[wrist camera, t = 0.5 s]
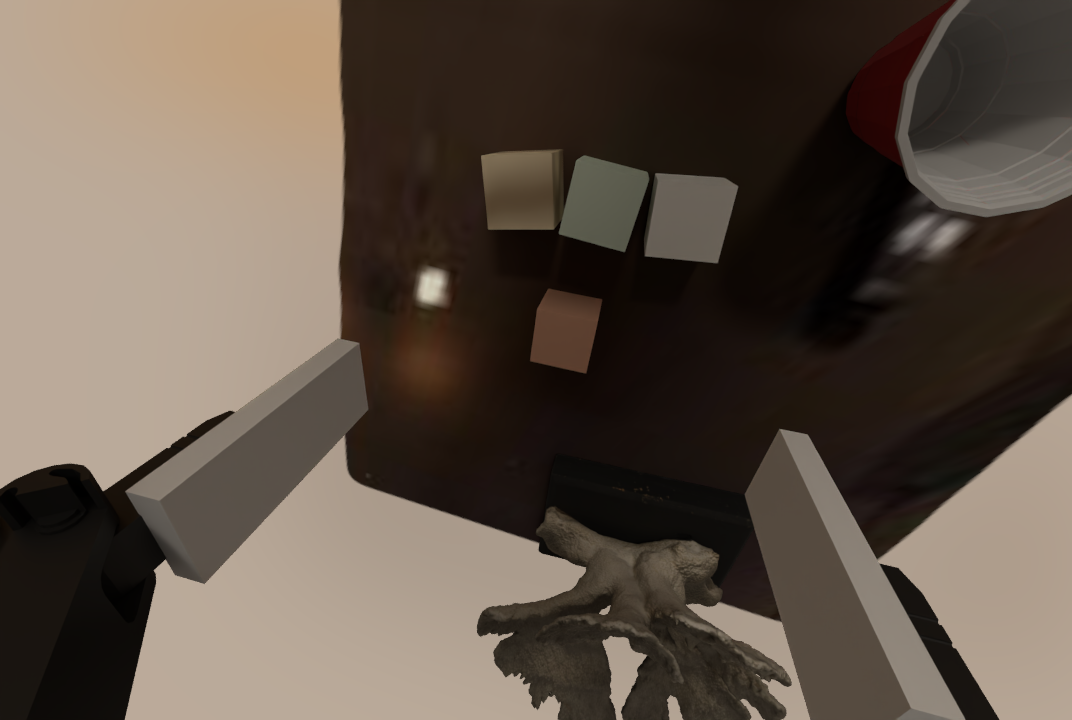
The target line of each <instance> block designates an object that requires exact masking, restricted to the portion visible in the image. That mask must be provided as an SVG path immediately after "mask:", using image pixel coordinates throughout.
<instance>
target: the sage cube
mask: <svg viewBox="0 0 1072 720" xmlns="http://www.w3.org/2000/svg"><path fill="white" fill-rule="evenodd" d="M648 182H649V176H648V172H646V171H642V170H638V169H634V168H630V167H627V166H623V165H619V164H615V163H611V162H607V161H604V160H600V159H596V158H592V157H588V156H585V155H584V156H583V157H581V158H579V159H578V160H576V164H575V168H574V172H573V176H572V181H571V185H570V189H569V193H568V197H567V201H566V205H565V209H564V214H563V218H562V222H561V226H560V230H559V234H560V235H564V236H568V237H571V238H575V239H578V240H582V241H586V242H589V243H593V244H597V245H600V246H604V247H607V248H611V249H615V250H618V251H622V252H625V250H626V247H627V244H628V241H629V238H630V235H631V232H632V229H633V226H634V223H635V220H636V218H637V215H638V212H639V209H640V206H641V203H642V200H643V197H644V194H645V191H646V188H647V185H648Z"/></svg>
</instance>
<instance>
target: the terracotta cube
mask: <svg viewBox="0 0 1072 720" xmlns="http://www.w3.org/2000/svg"><path fill="white" fill-rule="evenodd" d="M601 303H602V299H598V298H593V297H588V296H583V295H578V294H573V293H568V292H563V291H558V290H553V289H548V290H547V292H546V294H545V296H544V297H543V299H542V301H541V303H540V305H539V307H538V309H537V314H536V321H535V328H534V336H533V343H532V350H531V357H530V361H532V362H536V363H541V364H545V365H550V366H554V367H559V368H563V369H568V370H572V371H577V372H581V373H586V372H587V367H588V363H589V359H590V354H591V350H592V345H593V341H594V337H595V332H596V328H597V323H598V319H599V313H600V308H601Z"/></svg>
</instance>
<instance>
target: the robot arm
mask: <svg viewBox="0 0 1072 720" xmlns="http://www.w3.org/2000/svg"><path fill="white" fill-rule="evenodd" d="M367 410H368V404H367V397H366V389H365V382H364V375H363V367H362V360H361V353H360V345H359V343H356V342H351V341H347V340H342V339H337V340H335V341H334V342H333V343H331V344H330V345H328V346H327V347H326V348H324V349H323V350H321V351H320V352H319V353H317V354H316V355H315V356H313V357H312V358H310V359H309V360H308V361H306V362H305V363H303V364H302V365H301V366H299V367H298V368H296V369H295V370H294V371H292V372H291V373H290V374H288V375H287V376H285V377H284V378H282V379H281V380H280V381H278V382H277V383H275V384H274V385H273V386H271V387H270V388H269V389H267V390H266V391H264V392H263V393H262V394H260V395H259V396H258V397H256V398H255V399H253V400H252V401H250V402H249V403H248V404H246V405H245V406H244V407H242V408H241V409H239V410H238V411H236V412H233V411H228V412H226V413H223V414H221V415H219V416H216V417H214V418H212V419H210V420H207V421H205V422H204V423H202V424H201V425H199V426H198V427H197V428H195V429H194V430H192V431H191V432H189V433H188V434H187V436H186V437H182V438H181V439H179V440H178V441H176V442H175V443H173V444H172V445H171V447H170V448H166V449H165V450H163V451H162V452H160V453H159V454H157V455H156V456H154V457H153V458H152V459H150V460H149V461H147V462H146V463H144V464H143V465H141V466H140V467H138V468H137V469H136V470H134V471H133V472H131V473H130V474H128V475H127V476H126V477H124V478H123V479H121V480H120V481H118V482H117V483H115V484H114V485H113V486H111V487H109V488H108V489H107V490H105V491H102V490H101V488H100V486H99V484H98V483H97V481H96V480H95V478H94V477H93V475H92V474H91V472H90V471H89V470H88V469H87V468H86V467H84V466H83V465H77V464H62V465H54V466H51V467H47V468H43V469H40V470H36V471H33V472H31V473H29V474H27V475H24V476H22V477H20V478H18V479H16V480H14V481H12V482H11V483H9V484H7V485H6V486H4V487H3V488H1V489H0V720H125V716H126V711H127V707H128V703H129V698H130V694H131V689H132V685H133V681H134V676H135V672H136V667H137V663H138V659H139V655H140V650H141V646H142V641H143V637H144V632H145V628H146V624H147V620H148V615H149V611H150V607H151V602H152V597H153V593H154V589H155V585H156V574H155V572H154V571H153V570H154V569H156V568H157V567H158V566H159V565H160V564H161V563H162V562H163V561H164V560H165V559H166V560H167V562H168V564H169V565H170V567H171V569H172V570H173V572H174V574H175V575H177V576H180V577H184V578H187V579H190V580H194V581H197V582H200V583H204V584H205V583H206V582H207V581H208V580H209V578H210V577H211V576H212V575H213V574H214V573H215V572H216V571H217V570H218V569H219V568H220V566H222V565H223V563H225V561H226V560H227V559H228V558H229V557H230V556H231V555H232V554H233V553H234V552H235V551H236V550H237V549H238V548H239V547H240V545H241V544H242V543H243V542H244V541H245V540H246V539H247V538H248V537H249V536H250V535H251V534H252V533H253V532H254V531H255V530H256V529H257V527H258V526H259V525H260V524H261V523H262V522H263V521H264V520H265V519H266V518H267V517H268V516H269V514H271V512H272V511H273V510H274V509H275V508H276V507H277V506H278V505H279V504H280V503H281V502H282V501H283V500H284V499H285V498H286V496H288V494H289V493H290V492H291V491H292V490H293V489H294V488H295V487H296V486H297V485H298V484H299V483H300V482H301V481H302V480H303V478H304V477H305V476H306V475H307V474H308V473H309V472H310V471H311V470H312V469H313V468H314V467H315V466H316V465H317V464H318V463H319V462H320V460H321V459H322V458H323V457H324V456H325V455H326V454H327V453H328V452H329V451H330V450H331V449H332V448H333V446H334V445H335V444H336V443H337V442H338V441H339V440H340V439H341V438H342V437H343V436H344V435H345V434H346V433H347V432H348V431H349V430H350V429H351V427H352V426H353V425H354V424H355V423H356V422H357V421H358V420H359V419H360V418H361V417H362V416H363V415H364V414H365V413H366V412H367ZM745 498H746V501H747V505H748V508H749V511H750V515H751V518H752V522H753V525H754V528H755V532H756V535H757V539H758V542H759V545H760V549H761V552H762V556H763V559H764V563H765V566H766V569H767V573H768V576H769V580H770V583H771V586H772V590H773V593H774V597H775V600H776V603H777V607H778V610H779V614H780V617H781V620H782V624H783V627H784V631H785V634H786V637H787V641H788V644H789V648H790V651H791V655H792V658H793V661H794V665H795V668H796V672H797V675H798V678H799V682H800V685H801V689H802V692H803V695H804V699H805V702H806V706H807V709H808V713H809V716H810V719H811V720H999V718H998V717H997V715H996V713H995V712H994V710H993V709H992V707H991V705H990V704H989V702H988V700H987V699H986V697H985V695H984V694H983V692H982V690H981V689H980V687H979V685H978V684H977V682H976V681H975V679H974V677H973V676H972V674H971V673H970V671H969V669H968V667H967V666H966V664H965V663H964V661H963V659H962V658H961V656H960V655H959V653H958V651H957V650H956V649H955V648H953V647H952V641H951V640H950V638H949V636H948V635H947V633H946V631H945V630H944V628H943V627H942V625H939V624H938V618H937V617H936V615H935V613H934V612H933V610H932V609H931V607H930V605H929V604H928V602H927V601H926V599H925V597H924V595H923V594H922V593H921V591H920V590H919V589H918V588H916V586H915V585H914V584H913V583H912V582H911V581H910V580H909V579H908V578H907V577H906V576H905V575H904V574H903V573H902V572H901V571H900V570H899V568H895V567H891V566H887V565H883V564H879V563H878V561H877V559H876V557H875V555H874V554H873V552H872V550H871V548H870V546H869V545H868V543H867V541H866V539H865V537H864V535H863V534H862V532H861V530H860V528H859V526H858V525H857V523H856V521H855V519H854V517H853V516H852V514H851V512H850V510H849V508H848V507H847V505H846V503H845V501H844V499H843V498H842V496H841V494H840V492H839V490H838V488H837V487H836V485H835V483H834V481H833V479H832V478H831V476H830V474H829V472H828V470H827V469H826V467H825V465H824V463H823V461H822V460H821V458H820V456H819V454H818V452H817V451H816V449H815V447H814V445H813V443H812V442H811V440H810V438H809V436H808V435H807V434H802V433H797V432H792V431H787V430H782V429H779V431H778V433H777V435H776V437H775V438H774V440H773V442H772V444H771V446H770V448H769V450H768V452H767V454H766V455H765V457H764V459H763V461H762V463H761V465H760V467H759V469H758V470H757V472H756V474H755V476H754V478H753V480H752V482H751V484H750V486H749V487H748V489H747V491H746V493H745Z"/></svg>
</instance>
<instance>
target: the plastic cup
mask: <svg viewBox="0 0 1072 720" xmlns="http://www.w3.org/2000/svg"><path fill="white" fill-rule="evenodd" d="M846 116H847V119H848V122H849V125H850V127H851V130H852V132H853V133H854V134H855V135H857V136H858V137H859V138H860V139H861V140H863V141H864V142H865V143H867V144H868V145H870V146H872V147H873V148H874V149H875V150H876V151H878V152H879V153H880V154H882V155H883V156H885V157H887V158H888V159H890V160H892V161H893V162H895V163H897V164H898V165H900V166H902V167H903V168H904V171H905V175H906V178H907V179H908V180H909V181H910V182H911V183H912V184H913V185H914V186H915V187H917V188H918V189H919V190H920V191H921V192H922V193H924V194H925V195H926V196H927V197H928V198H929V199H930V200H932V201H933V202H934V203H935V204H936V205H937V206H939V207H940V208H942V209H948V210H953V211H958V212H963V213H968V214H973V215H978V216H983V217H990V216H995V215H1001V214H1007V213H1013V212H1019V211H1025V210H1031V209H1037V208H1043V207H1045V206H1047V205H1049V204H1052V203H1054V202H1056V201H1058V200H1060V199H1063V198H1065V197H1067V196H1069V195H1071V194H1072V0H950V1H949V2H948V3H946V4H944V5H943V6H941V7H940V8H938V9H937V10H935V11H934V12H932V13H931V14H929V15H928V16H926V17H925V18H923V19H922V20H920V21H919V22H917V23H916V24H914V25H913V26H911V27H910V28H908V29H907V30H905V31H904V32H902V33H901V34H899V35H898V36H896V37H895V38H894V40H893V41H892V42H890V43H889V44H887V45H886V46H884V47H883V48H881V49H880V50H878V51H877V52H876V53H875V54H874V55H873V56H872V58H871V59H870V60H869V61H868V62H867V63H866V64H865V65H864V67H863V68H862V69H861V70H860V71H859V73H858V74H857V76H856V78H855V80H854V82H853V84H852V86H851V88H850V90H849V92H848V95H847V105H846Z"/></svg>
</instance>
